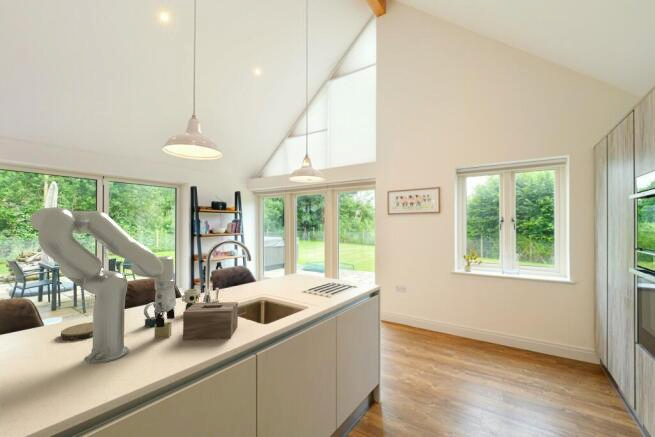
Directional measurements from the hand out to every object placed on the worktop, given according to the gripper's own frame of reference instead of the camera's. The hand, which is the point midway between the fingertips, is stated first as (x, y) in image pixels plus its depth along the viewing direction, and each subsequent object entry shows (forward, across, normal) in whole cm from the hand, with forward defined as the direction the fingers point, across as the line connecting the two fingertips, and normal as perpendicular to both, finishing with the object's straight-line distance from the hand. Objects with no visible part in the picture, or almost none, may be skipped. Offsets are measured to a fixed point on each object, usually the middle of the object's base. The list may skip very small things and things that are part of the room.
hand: (165, 322), depth 128 cm
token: (+6, -1, +1) cm, 6 cm away
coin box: (+6, +2, -19) cm, 20 cm away
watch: (+6, +15, +13) cm, 21 cm away
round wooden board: (+6, +6, +38) cm, 39 cm away
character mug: (+7, +32, +1) cm, 33 cm away
